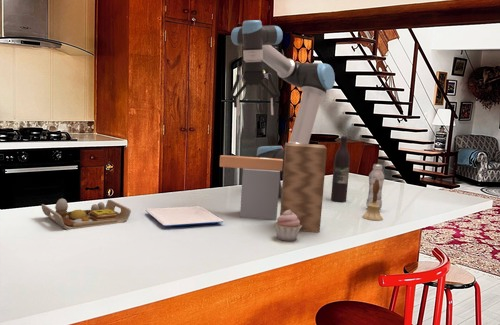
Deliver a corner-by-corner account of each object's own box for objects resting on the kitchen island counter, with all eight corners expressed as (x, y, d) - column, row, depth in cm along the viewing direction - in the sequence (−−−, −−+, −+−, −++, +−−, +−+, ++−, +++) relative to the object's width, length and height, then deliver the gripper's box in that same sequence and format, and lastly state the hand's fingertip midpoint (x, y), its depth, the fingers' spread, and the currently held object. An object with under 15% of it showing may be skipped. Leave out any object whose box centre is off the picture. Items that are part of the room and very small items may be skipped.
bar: (219, 166, 194) (220, 156, 194) (220, 165, 198) (220, 154, 198) (282, 170, 194) (283, 160, 193) (281, 169, 198) (282, 158, 197)
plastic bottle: (381, 212, 218) (386, 166, 215) (365, 210, 219) (370, 164, 217) (381, 208, 224) (385, 164, 222) (365, 207, 226) (369, 162, 223)
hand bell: (383, 217, 209) (387, 179, 207) (382, 221, 201) (386, 182, 199) (363, 214, 212) (367, 176, 209) (360, 218, 204) (364, 179, 202)
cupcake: (293, 244, 163) (295, 214, 162) (267, 238, 168) (270, 209, 167) (305, 238, 171) (308, 209, 170) (281, 232, 176) (283, 204, 175)
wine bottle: (329, 200, 234) (334, 136, 230) (332, 198, 241) (338, 135, 237) (344, 203, 232) (350, 137, 227) (347, 200, 238) (353, 136, 234)
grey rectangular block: (239, 217, 194) (242, 169, 191) (241, 211, 204) (244, 165, 201) (276, 219, 193) (280, 172, 191) (275, 213, 203) (279, 168, 201)
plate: (163, 230, 170) (163, 224, 170) (144, 214, 190) (145, 208, 189) (224, 226, 181) (224, 220, 180) (200, 211, 200) (200, 205, 200)
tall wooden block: (280, 229, 180) (286, 145, 176) (279, 222, 190) (285, 142, 186) (319, 232, 180) (326, 148, 176) (316, 224, 190) (323, 145, 186)
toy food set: (59, 232, 162) (59, 208, 161) (40, 219, 175) (40, 197, 174) (131, 222, 178) (132, 201, 177) (109, 211, 192) (109, 191, 191)
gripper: (220, 62, 197) (223, 117, 201) (285, 60, 194) (286, 115, 199) (223, 62, 204) (225, 114, 209) (285, 59, 202) (286, 112, 206)
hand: (255, 115), depth 204 cm, fingers open, 13 cm apart
